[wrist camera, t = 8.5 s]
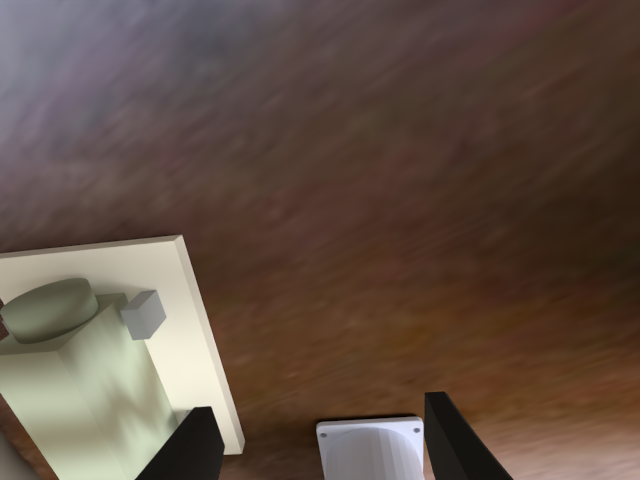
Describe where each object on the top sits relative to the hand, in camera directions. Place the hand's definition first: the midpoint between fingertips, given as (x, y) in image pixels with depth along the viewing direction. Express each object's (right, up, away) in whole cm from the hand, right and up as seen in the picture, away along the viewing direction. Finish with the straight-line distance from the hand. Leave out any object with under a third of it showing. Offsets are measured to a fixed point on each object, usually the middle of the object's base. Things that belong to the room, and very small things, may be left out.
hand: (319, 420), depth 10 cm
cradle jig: (-13, -3, +12) cm, 18 cm away
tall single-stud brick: (-13, -3, +11) cm, 17 cm away
